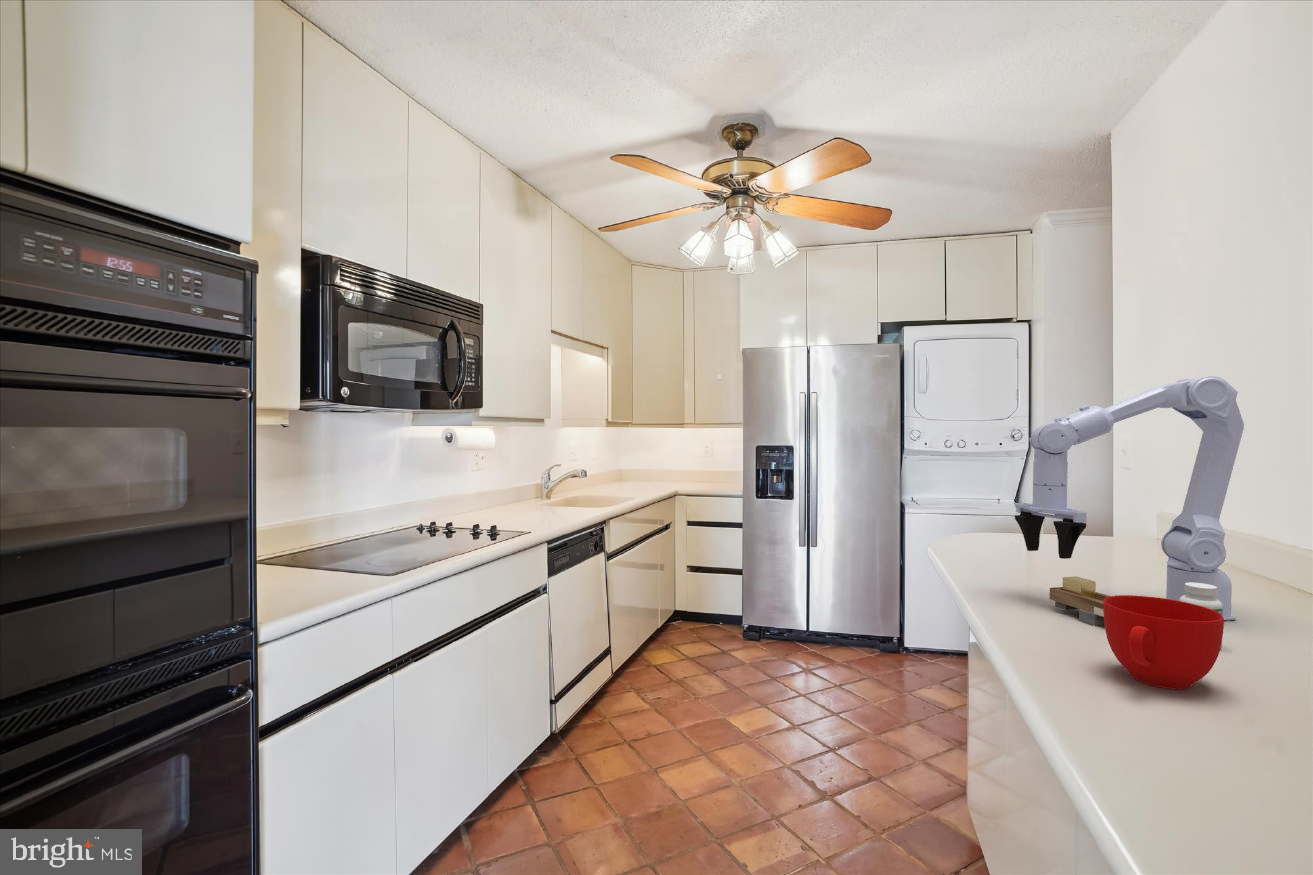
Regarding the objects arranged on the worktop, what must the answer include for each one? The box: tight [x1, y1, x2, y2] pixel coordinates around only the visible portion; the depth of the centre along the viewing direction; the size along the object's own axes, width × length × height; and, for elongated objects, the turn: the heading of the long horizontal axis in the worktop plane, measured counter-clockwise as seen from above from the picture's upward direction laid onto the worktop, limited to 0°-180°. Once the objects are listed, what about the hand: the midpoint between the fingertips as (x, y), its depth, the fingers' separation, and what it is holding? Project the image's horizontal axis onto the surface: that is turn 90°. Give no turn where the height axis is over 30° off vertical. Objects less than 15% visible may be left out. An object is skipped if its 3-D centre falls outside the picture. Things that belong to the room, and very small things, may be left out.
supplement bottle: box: [1179, 582, 1223, 648], centre depth 102 cm, size 5×5×10 cm
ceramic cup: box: [1103, 594, 1225, 690], centre depth 86 cm, size 13×17×10 cm
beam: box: [1049, 586, 1110, 626], centre depth 113 cm, size 7×17×4 cm, turn 13°
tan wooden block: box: [1062, 576, 1097, 599], centre depth 118 cm, size 3×4×3 cm
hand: (1048, 554), depth 124 cm, fingers open, 7 cm apart
